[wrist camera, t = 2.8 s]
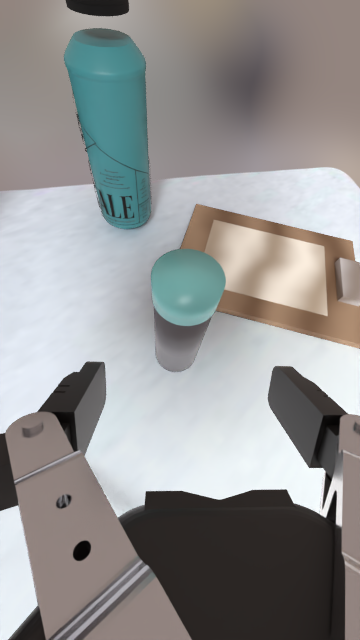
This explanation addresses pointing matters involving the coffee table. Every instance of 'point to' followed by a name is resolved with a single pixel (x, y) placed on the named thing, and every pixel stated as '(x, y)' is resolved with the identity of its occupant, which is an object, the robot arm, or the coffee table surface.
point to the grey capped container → (184, 304)
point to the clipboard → (282, 274)
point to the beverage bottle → (112, 113)
